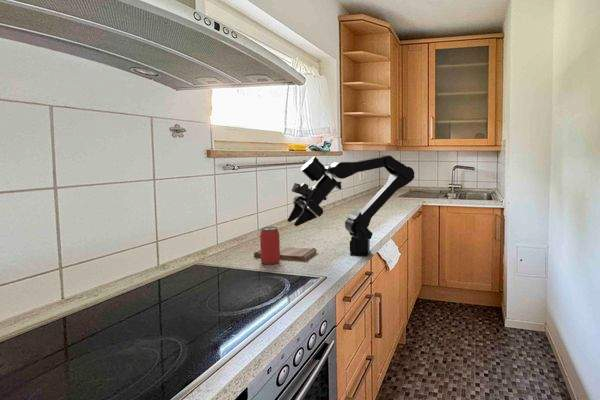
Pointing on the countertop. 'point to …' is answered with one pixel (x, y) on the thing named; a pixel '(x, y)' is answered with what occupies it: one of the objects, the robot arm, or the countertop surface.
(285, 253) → the walnut board
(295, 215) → the robot arm
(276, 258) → the beer can
